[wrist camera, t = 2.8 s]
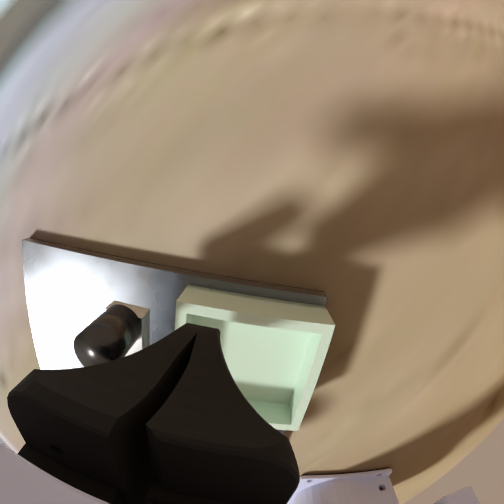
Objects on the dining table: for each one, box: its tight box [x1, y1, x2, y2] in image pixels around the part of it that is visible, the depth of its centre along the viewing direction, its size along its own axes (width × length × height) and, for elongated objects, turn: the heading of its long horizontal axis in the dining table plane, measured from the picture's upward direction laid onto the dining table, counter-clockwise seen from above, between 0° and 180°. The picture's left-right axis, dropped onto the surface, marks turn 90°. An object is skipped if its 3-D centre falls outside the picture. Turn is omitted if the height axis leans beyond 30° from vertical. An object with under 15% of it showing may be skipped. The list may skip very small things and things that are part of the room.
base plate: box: [22, 238, 327, 435], centre depth 15 cm, size 19×17×4 cm
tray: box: [175, 285, 335, 431], centre depth 14 cm, size 7×7×2 cm
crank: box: [73, 300, 150, 367], centre depth 11 cm, size 10×3×4 cm, turn 171°
